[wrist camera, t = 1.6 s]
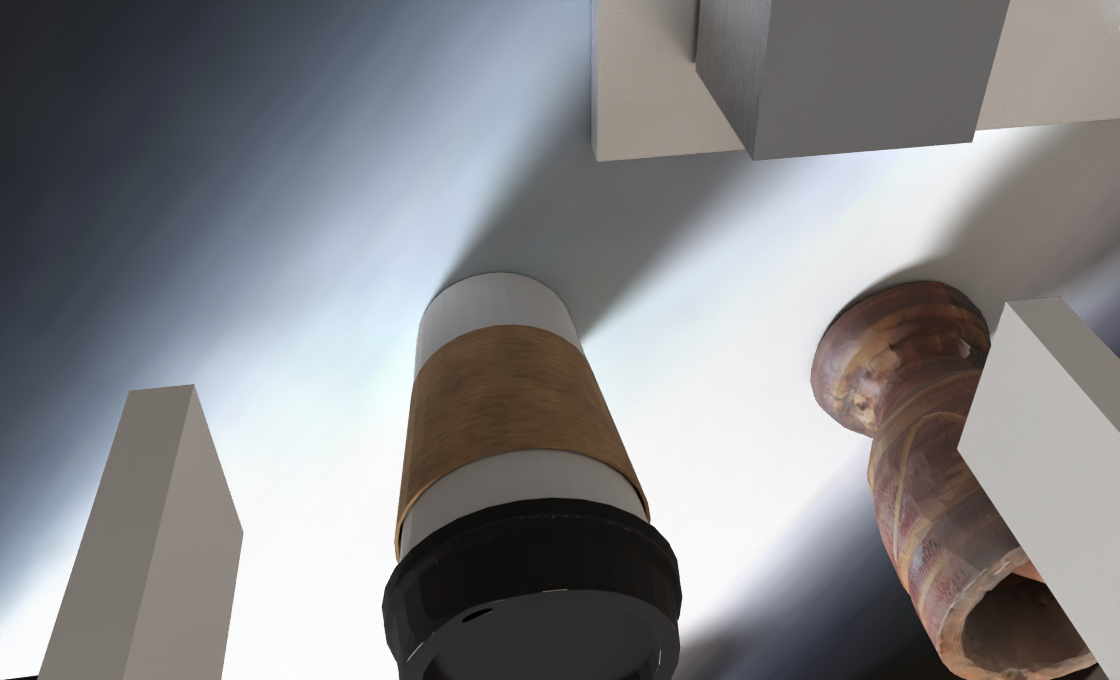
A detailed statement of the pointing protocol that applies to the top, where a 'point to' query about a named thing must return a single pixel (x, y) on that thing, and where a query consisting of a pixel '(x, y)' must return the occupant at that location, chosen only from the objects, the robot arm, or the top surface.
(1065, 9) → the gauge base
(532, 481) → the coffee cup
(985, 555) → the mortar and pestle
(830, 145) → the grey rectangular block
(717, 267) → the top surface
